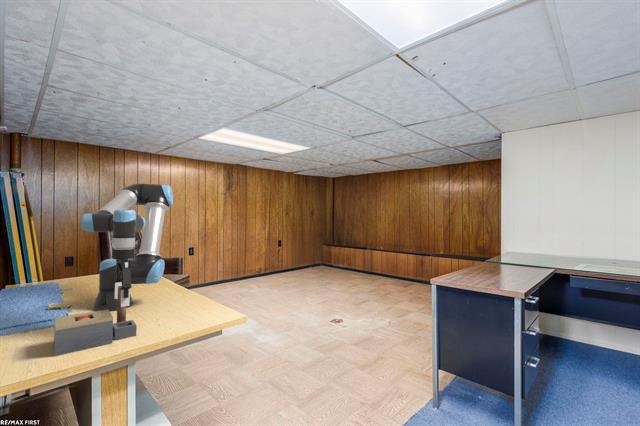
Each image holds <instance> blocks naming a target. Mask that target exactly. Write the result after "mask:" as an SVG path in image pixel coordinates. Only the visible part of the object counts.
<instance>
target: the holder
mask: <svg viewBox="0 0 640 426" xmlns="http://www.w3.org/2000/svg"><path fill="white" fill-rule="evenodd" d="M136 336H137V323H136V322H135V321H134V320H133V319H130V320H126V321H124V322H119V323H117V322H113V340H114V341H118V340H122V339H128V338H131V337H136Z"/></svg>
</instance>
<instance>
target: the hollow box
mask: <svg viewBox="0 0 640 426" xmlns="http://www.w3.org/2000/svg"><path fill="white" fill-rule="evenodd" d="M86 317H89V318H90V319H86V320H80V321H78V320H79V319H81V318H86ZM113 323H114V316H113V314H112V313H111V311H109V310H108V309H107V310H101V311H96V310H94V311H90V312H83V313H76V314H72V315H70V314H69V315H65V316H59V317H54V326H53V327H54V329H53V330H54V331H53V333H54V334H53V349H54V350H53V351H54V357H58V356H63V355H66V354H71V353H74V352H80V351H83V350H89V349H93V348H97V347H102V346H107V345H112V344H113V340H114V338H113Z"/></svg>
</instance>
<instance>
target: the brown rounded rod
mask: <svg viewBox="0 0 640 426" xmlns="http://www.w3.org/2000/svg"><path fill="white" fill-rule="evenodd" d="M121 287H122V286H118V297H117V310H116V323H119V322H124V321H127V308H126V306H124V307H121V290H120V288H121Z"/></svg>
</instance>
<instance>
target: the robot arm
mask: <svg viewBox="0 0 640 426" xmlns="http://www.w3.org/2000/svg"><path fill="white" fill-rule="evenodd" d="M173 205H174V195H173V189H172V187H171V186H170V185H169V184H163V183H161V184H159V183H158V184H154V183H136V184H130V185H128V186H126V187H123V188H121V189H120V190H119V191H117V193H116V194H115V197H114V198H113V199H111V200H110V201H109V202H107V203H106V204H105V205H103V207H101V208H100V209H99V210H98V211H96V212H95V213H92V212H91V213H84V214H83V215H82V216H81V219H80V227H81V228H80V229H82V231H83V232H92V233H112V240H110V243H112V248H113V249H112V250H111V258H108V259H104V260H102V261H101V262H100V263H99V271H98V272H99V275H98V276H99V281H98V282H99V284H98V293H97V296H96V298H95V301H94V304H93V310H94V311H101V310H107V309H108V310H109V311H110V312H113V311H117V297H118V286H122V287H121V288H120V290H121V307H124V306H126V309H127V308H129V307H131V306H132V305H133V298H132V295H131V288H132V285H150V284H157V283H159V282H160V281H161V280H162V278H163V275H164V271H165V267H166V266H165V265H166V263H165V260H164V259H163V258H162V255H161V254H160V250H161V249H160V248H161V241H162V235H163V229H164V222H165V221H164V220H165V214H166V212H167V211H169V208H170V207H172V206H173ZM134 206H143V207H144V208H145V209H146V213H145V217H143V215H140V214H137V212H136V211H135V210H134V209H129V208H132V207H134ZM140 231H142V237H141V242H140V249H139V252H138V253H137V254H136V255H135V247H136V233H138V232H140Z"/></svg>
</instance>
